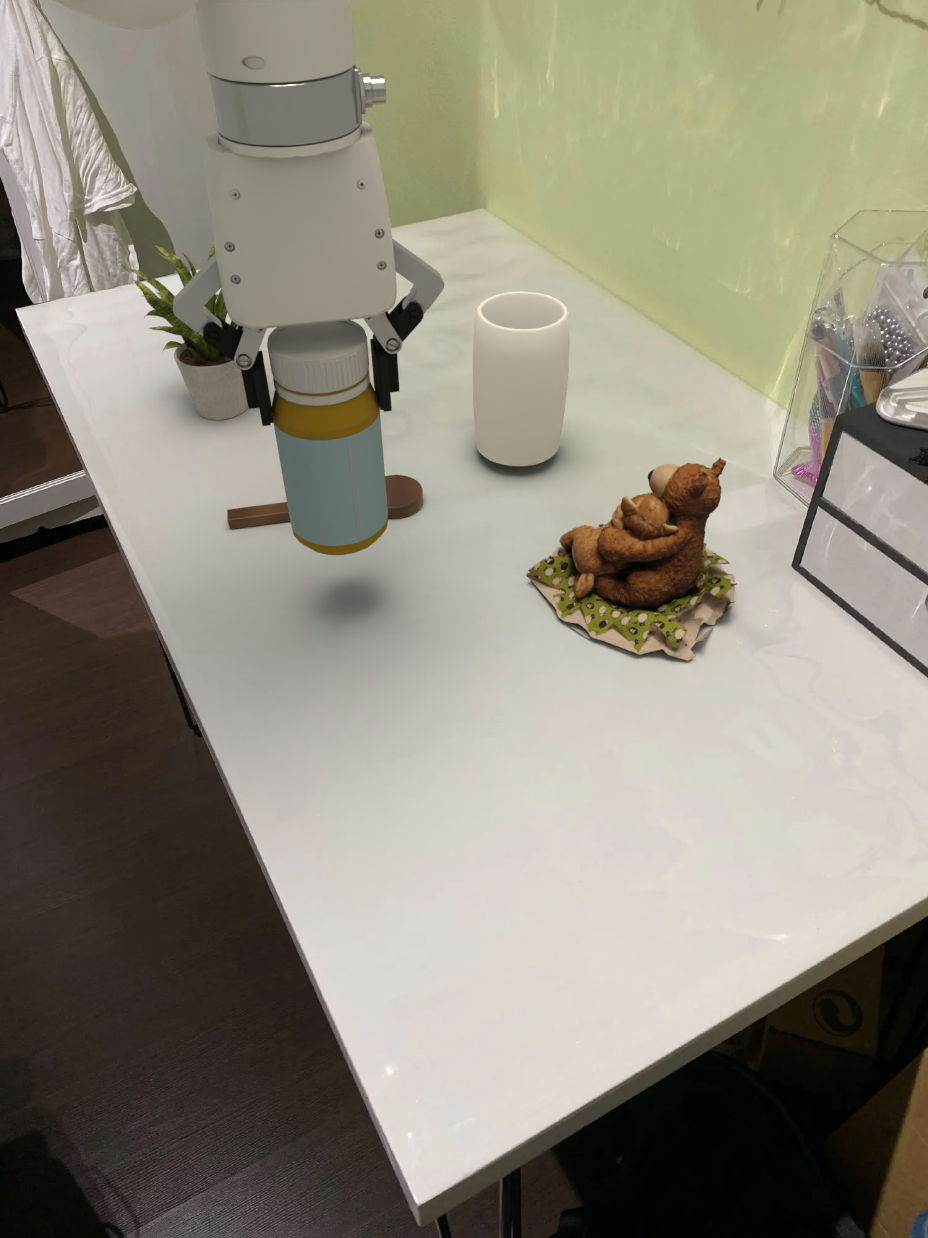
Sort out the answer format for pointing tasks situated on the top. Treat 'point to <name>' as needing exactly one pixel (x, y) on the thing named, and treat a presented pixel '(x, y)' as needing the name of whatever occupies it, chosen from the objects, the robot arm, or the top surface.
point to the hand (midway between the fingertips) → (325, 406)
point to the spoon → (400, 504)
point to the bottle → (328, 435)
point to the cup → (520, 377)
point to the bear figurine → (645, 567)
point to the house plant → (198, 349)
